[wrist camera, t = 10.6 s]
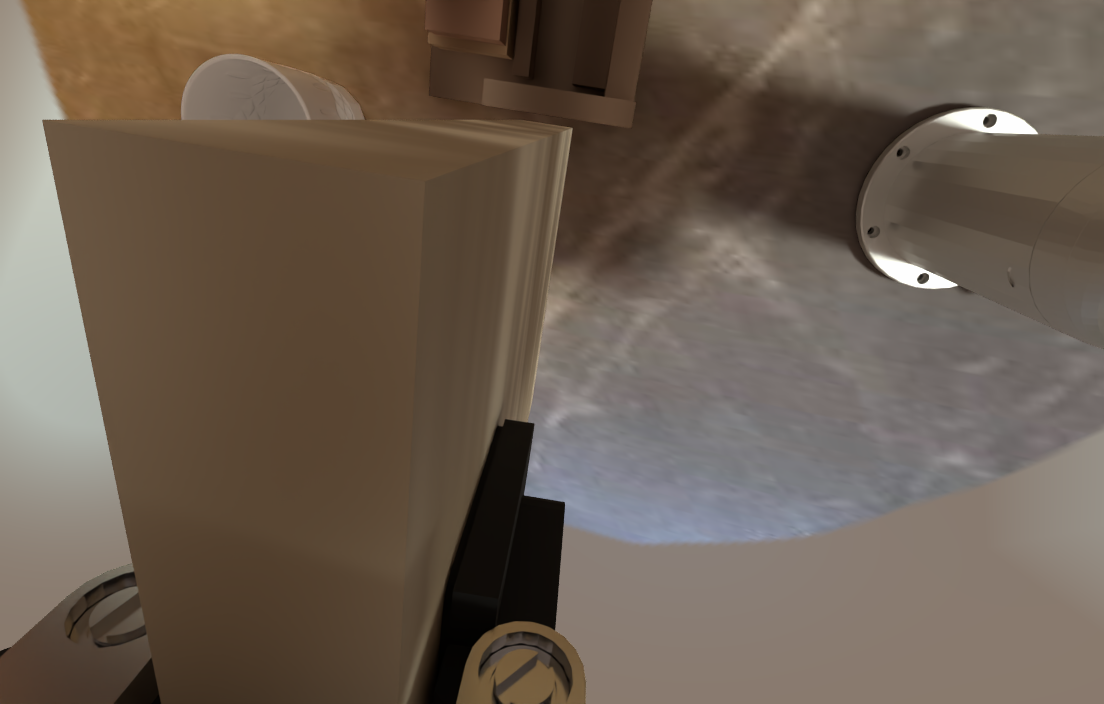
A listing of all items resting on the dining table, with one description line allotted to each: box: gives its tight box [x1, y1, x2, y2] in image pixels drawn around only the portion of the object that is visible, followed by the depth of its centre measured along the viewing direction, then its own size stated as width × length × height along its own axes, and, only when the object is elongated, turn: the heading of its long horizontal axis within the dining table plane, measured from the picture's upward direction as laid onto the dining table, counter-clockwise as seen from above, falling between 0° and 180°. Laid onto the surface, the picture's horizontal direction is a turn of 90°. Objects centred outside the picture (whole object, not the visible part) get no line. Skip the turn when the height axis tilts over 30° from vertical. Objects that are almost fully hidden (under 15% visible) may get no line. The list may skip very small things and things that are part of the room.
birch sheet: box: [43, 120, 573, 704], centre depth 14 cm, size 2×12×20 cm, turn 172°
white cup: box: [181, 54, 365, 120], centre depth 37 cm, size 8×8×10 cm
